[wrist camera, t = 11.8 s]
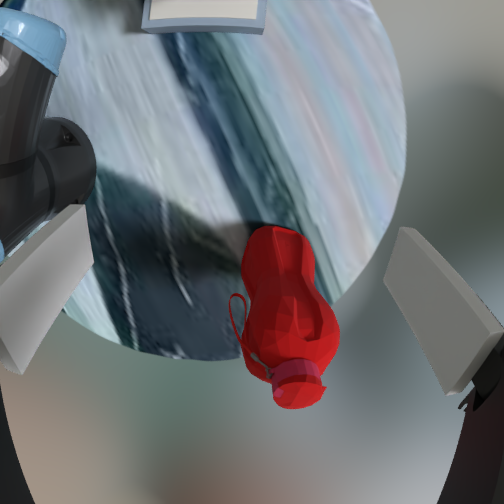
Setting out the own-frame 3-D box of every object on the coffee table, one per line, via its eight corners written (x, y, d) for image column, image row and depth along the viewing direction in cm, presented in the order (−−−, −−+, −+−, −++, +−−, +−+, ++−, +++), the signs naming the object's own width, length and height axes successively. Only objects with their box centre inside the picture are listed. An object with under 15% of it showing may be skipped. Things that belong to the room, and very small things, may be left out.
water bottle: (241, 213, 42) (238, 354, 20) (315, 233, 44) (372, 370, 22) (225, 268, 46) (213, 416, 25) (293, 284, 48) (323, 426, 26)
